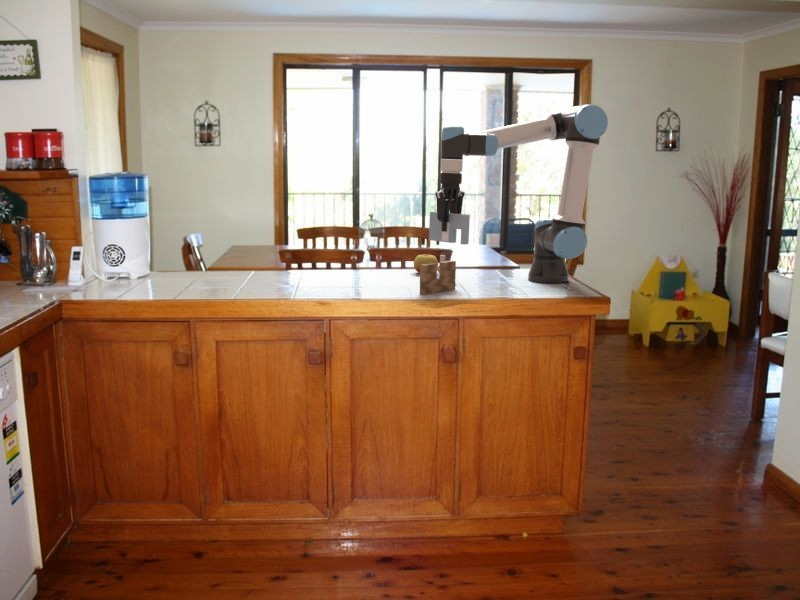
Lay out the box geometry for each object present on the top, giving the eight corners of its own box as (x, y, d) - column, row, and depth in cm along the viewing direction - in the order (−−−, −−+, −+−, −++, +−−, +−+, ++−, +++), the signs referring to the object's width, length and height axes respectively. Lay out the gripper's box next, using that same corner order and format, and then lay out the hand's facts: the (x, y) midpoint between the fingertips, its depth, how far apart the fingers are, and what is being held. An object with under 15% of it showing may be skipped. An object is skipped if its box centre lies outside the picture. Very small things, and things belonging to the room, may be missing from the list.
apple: (438, 275, 299) (438, 255, 298) (413, 275, 299) (413, 254, 298) (437, 271, 309) (437, 252, 307) (413, 271, 309) (413, 251, 308)
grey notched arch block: (428, 239, 269) (429, 211, 267) (433, 239, 271) (434, 211, 269) (464, 244, 258) (465, 215, 256) (468, 244, 260) (469, 214, 258)
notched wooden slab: (449, 288, 270) (450, 260, 269) (455, 289, 269) (455, 261, 267) (419, 293, 259) (420, 264, 257) (424, 294, 257) (425, 265, 256)
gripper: (457, 172, 268) (454, 238, 273) (427, 171, 257) (425, 240, 261) (473, 172, 263) (470, 240, 267) (444, 172, 252) (442, 243, 256)
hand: (448, 240), depth 264 cm, fingers closed on grey notched arch block, 2 cm apart
